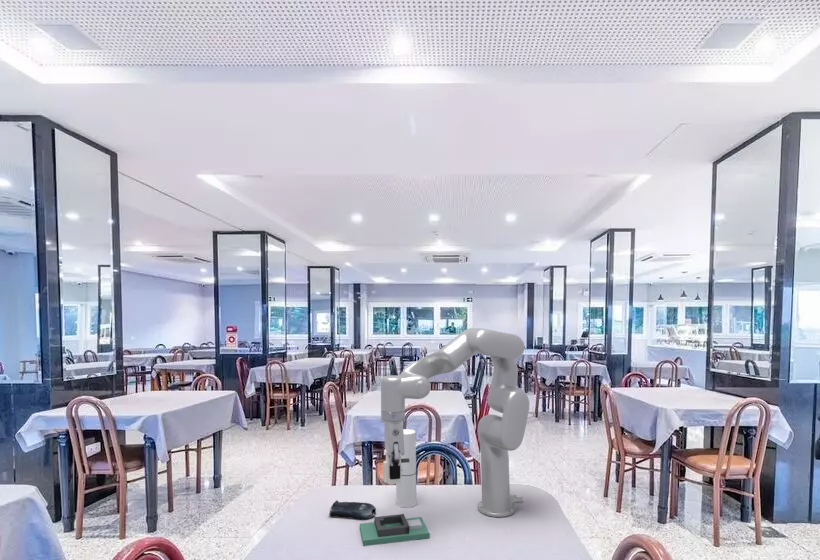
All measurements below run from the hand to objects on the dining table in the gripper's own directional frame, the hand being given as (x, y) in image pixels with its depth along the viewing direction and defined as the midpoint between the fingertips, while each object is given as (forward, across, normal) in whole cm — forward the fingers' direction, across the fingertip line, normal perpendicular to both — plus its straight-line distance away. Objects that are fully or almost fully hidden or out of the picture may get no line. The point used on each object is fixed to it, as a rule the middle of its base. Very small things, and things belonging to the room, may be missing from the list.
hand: (393, 474), depth 140 cm
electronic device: (+18, +17, +11) cm, 27 cm away
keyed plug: (+2, 0, 0) cm, 2 cm away
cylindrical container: (+18, +20, -8) cm, 28 cm away
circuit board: (+18, 0, 0) cm, 18 cm away
